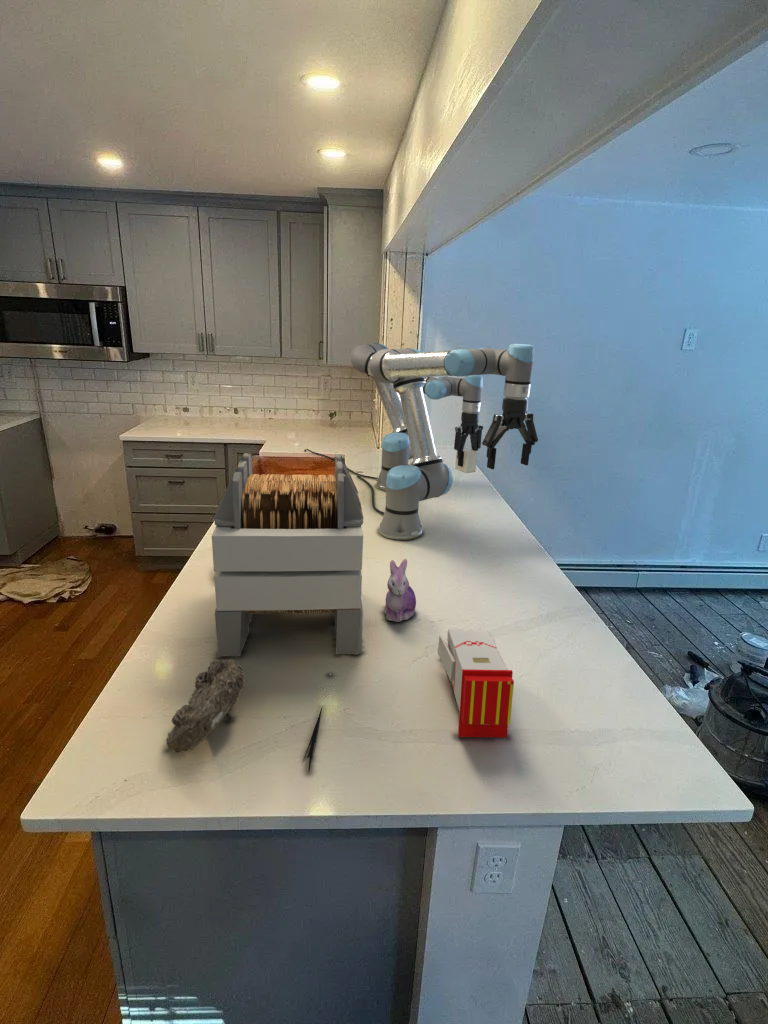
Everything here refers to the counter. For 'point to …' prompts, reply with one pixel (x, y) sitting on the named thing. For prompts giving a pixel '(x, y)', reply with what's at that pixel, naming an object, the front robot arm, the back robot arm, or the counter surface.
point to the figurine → (399, 594)
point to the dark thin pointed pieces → (313, 740)
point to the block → (467, 461)
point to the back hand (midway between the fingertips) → (465, 465)
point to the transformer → (288, 552)
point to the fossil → (206, 705)
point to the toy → (478, 682)
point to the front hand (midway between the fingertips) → (507, 466)
